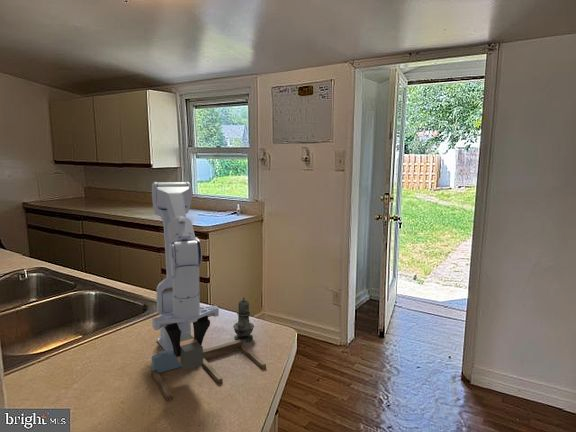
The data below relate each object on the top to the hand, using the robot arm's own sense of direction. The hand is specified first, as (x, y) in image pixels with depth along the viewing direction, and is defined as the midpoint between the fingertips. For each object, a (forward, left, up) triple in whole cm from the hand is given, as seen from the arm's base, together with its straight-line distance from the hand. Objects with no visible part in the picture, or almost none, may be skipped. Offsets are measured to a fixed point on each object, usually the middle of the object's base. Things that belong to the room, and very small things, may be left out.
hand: (187, 352), depth 88 cm
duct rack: (-2, +6, -7) cm, 9 cm away
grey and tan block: (0, 0, -2) cm, 2 cm away
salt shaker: (-12, +21, -7) cm, 25 cm away
